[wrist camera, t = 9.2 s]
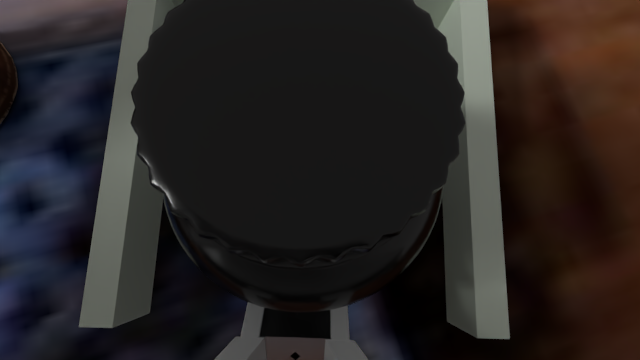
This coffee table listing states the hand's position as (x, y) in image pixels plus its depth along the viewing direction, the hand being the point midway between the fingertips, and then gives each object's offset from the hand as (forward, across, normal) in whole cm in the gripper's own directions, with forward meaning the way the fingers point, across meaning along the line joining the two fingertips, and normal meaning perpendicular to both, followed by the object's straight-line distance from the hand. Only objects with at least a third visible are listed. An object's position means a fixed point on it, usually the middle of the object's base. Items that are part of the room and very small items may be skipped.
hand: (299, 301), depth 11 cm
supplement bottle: (+6, 0, +1) cm, 6 cm away
